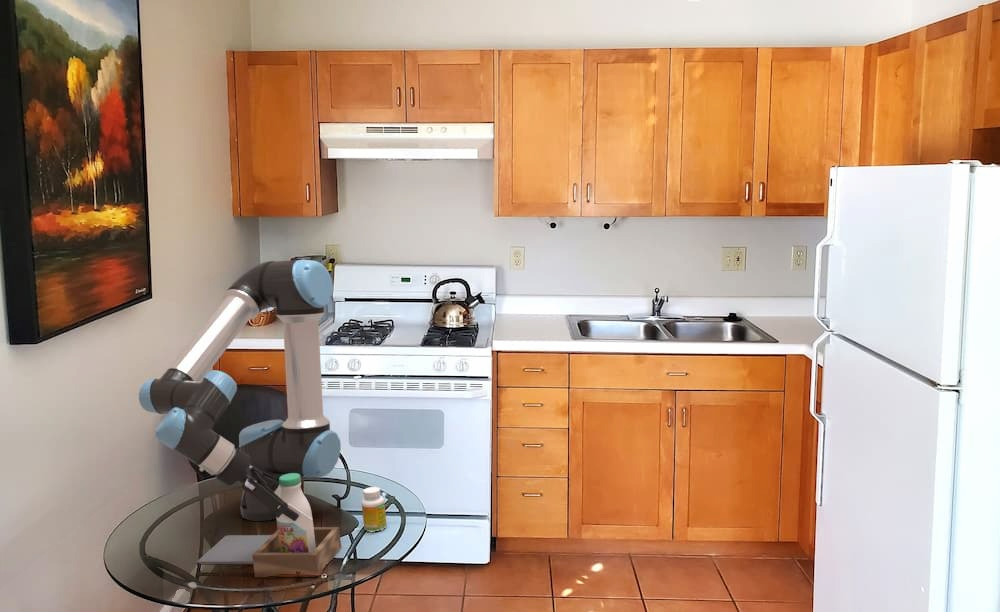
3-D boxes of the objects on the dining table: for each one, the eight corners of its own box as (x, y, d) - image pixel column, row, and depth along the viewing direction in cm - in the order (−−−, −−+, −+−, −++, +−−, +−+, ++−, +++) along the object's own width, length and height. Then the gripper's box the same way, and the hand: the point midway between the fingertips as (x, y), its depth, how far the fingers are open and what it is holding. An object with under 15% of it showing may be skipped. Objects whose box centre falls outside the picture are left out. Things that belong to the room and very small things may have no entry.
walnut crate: (282, 548, 196) (279, 527, 196) (341, 547, 194) (339, 527, 193) (254, 577, 182) (252, 555, 182) (318, 577, 180) (315, 555, 179)
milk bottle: (295, 552, 193) (285, 468, 190) (324, 556, 190) (314, 471, 187) (274, 567, 186) (263, 481, 183) (303, 571, 183) (293, 483, 180)
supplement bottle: (382, 533, 201) (378, 494, 199) (360, 532, 202) (356, 493, 200) (389, 523, 206) (386, 485, 204) (368, 523, 207) (364, 485, 205)
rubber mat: (226, 537, 205) (226, 535, 205) (280, 537, 202) (280, 535, 202) (197, 564, 191) (196, 561, 191) (255, 564, 189) (255, 561, 189)
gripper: (211, 459, 191) (286, 509, 198) (216, 494, 168) (301, 549, 175) (232, 432, 192) (306, 483, 199) (240, 463, 169) (324, 519, 176)
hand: (304, 514), depth 187 cm, fingers open, 13 cm apart
